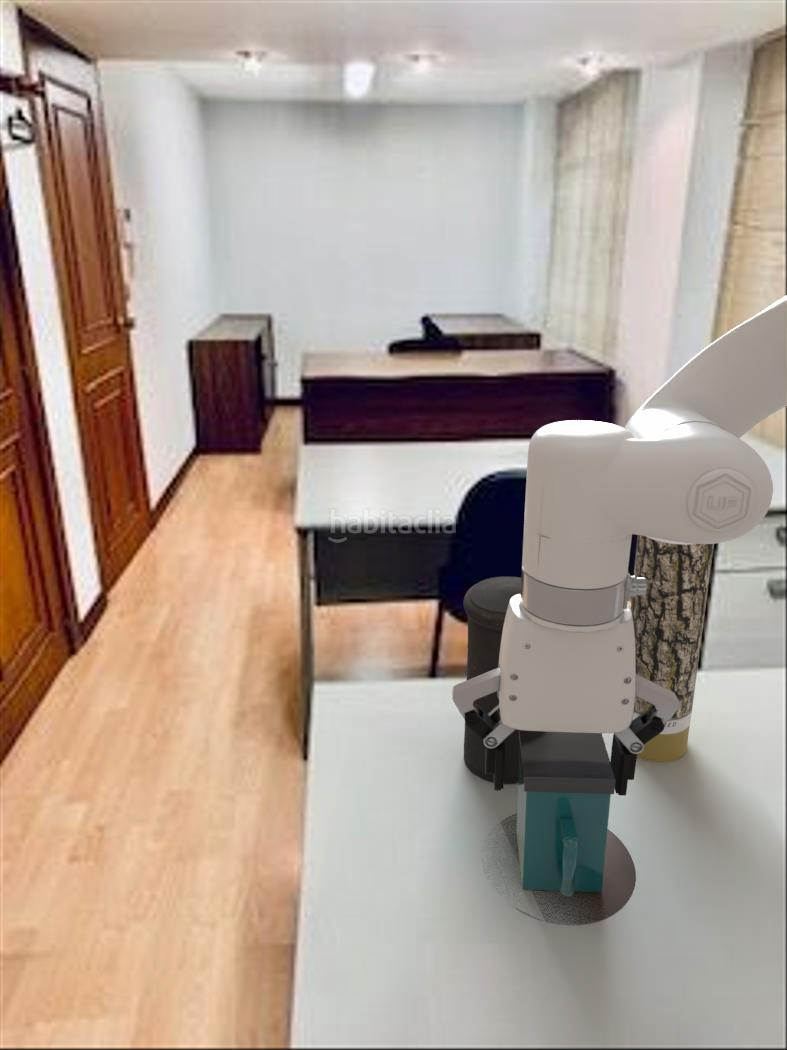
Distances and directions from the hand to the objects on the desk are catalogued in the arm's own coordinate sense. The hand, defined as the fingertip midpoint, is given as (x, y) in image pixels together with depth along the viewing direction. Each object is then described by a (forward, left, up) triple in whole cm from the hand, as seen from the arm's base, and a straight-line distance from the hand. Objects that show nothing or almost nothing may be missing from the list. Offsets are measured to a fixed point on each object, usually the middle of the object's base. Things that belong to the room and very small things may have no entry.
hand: (557, 781), depth 62 cm
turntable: (0, 0, -9) cm, 9 cm away
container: (+3, -14, -9) cm, 17 cm away
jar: (0, +1, -8) cm, 8 cm away
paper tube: (-12, -17, -9) cm, 23 cm away
